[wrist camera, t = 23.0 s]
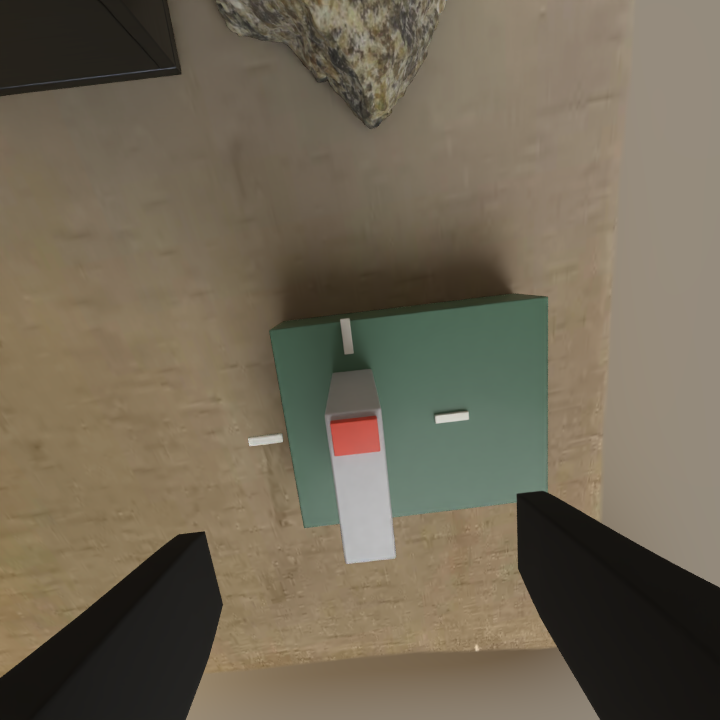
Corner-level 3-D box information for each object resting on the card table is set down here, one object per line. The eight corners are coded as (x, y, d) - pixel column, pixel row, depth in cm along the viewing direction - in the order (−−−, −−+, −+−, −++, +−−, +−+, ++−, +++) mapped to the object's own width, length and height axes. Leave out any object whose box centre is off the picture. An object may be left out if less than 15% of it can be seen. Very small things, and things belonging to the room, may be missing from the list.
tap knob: (383, 479, 15) (397, 565, 11) (346, 483, 15) (345, 571, 11) (371, 368, 14) (382, 410, 10) (332, 372, 14) (323, 417, 10)
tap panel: (281, 495, 19) (267, 537, 16) (249, 323, 17) (226, 333, 14) (517, 466, 19) (550, 503, 16) (513, 291, 17) (550, 294, 14)
